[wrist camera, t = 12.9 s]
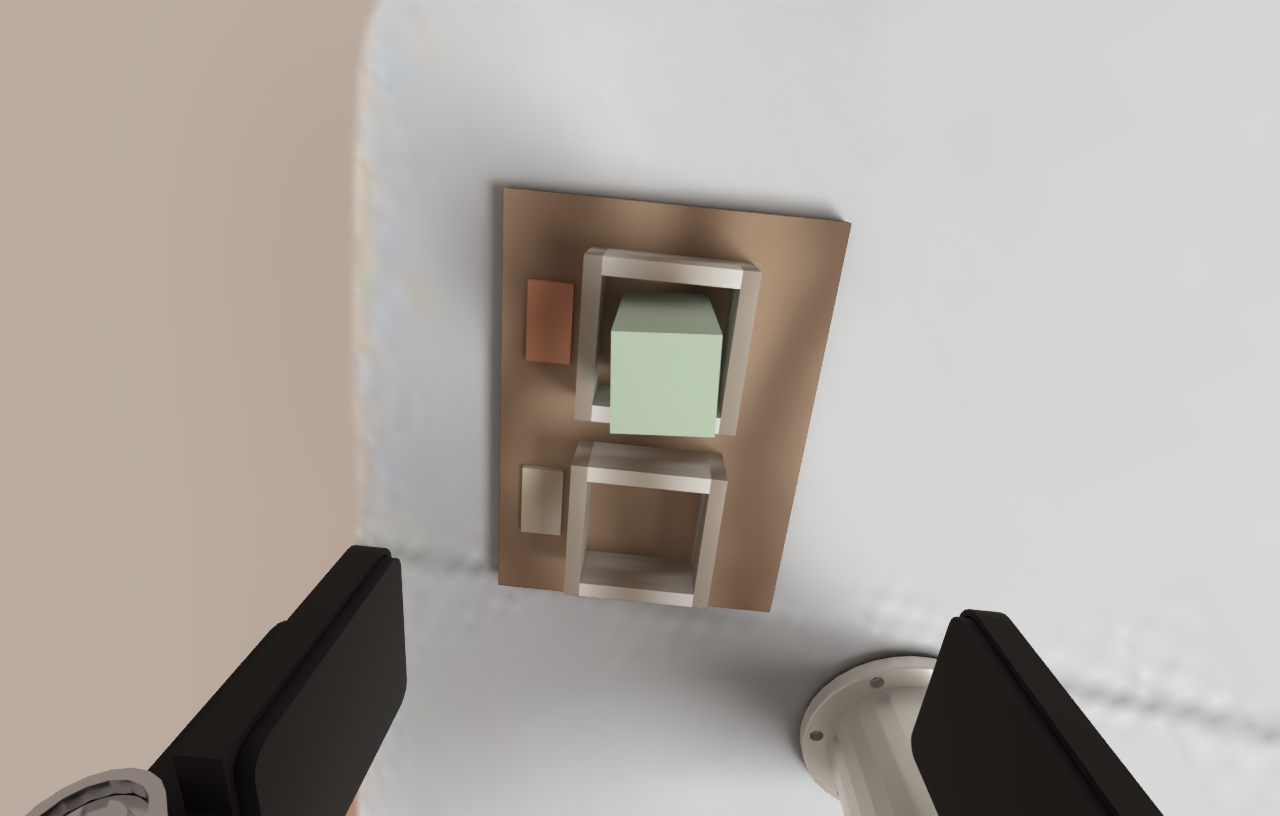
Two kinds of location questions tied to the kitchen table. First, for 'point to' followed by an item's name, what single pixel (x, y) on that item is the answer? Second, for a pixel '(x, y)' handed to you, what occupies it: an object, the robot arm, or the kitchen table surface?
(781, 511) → the socket board
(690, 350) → the plug
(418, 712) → the kitchen table surface
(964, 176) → the kitchen table surface
